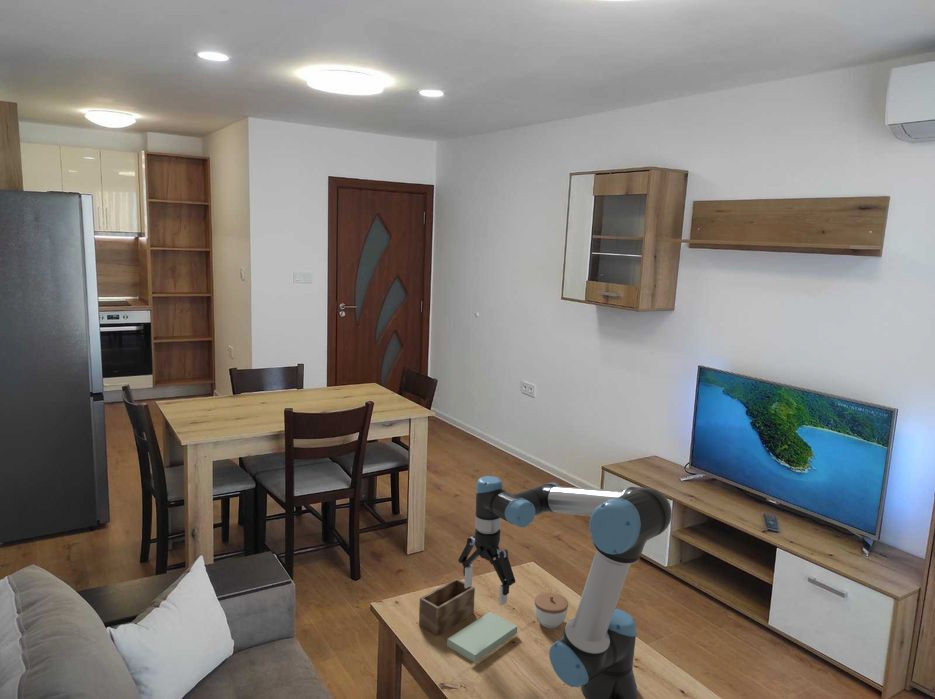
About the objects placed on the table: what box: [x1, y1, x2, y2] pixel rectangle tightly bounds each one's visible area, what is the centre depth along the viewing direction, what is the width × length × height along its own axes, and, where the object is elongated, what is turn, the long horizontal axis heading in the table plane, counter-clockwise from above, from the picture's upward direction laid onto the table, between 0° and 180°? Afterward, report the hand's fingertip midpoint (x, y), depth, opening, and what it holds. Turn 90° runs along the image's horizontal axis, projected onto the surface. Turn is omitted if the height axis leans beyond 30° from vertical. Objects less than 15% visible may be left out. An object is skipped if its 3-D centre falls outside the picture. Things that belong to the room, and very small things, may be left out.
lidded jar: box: [534, 591, 569, 629], centre depth 215 cm, size 11×11×9 cm
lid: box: [446, 611, 518, 664], centre depth 204 cm, size 20×11×4 cm, turn 138°
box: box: [418, 578, 476, 637], centre depth 213 cm, size 17×8×10 cm, turn 138°
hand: (485, 594), depth 202 cm, fingers open, 13 cm apart
